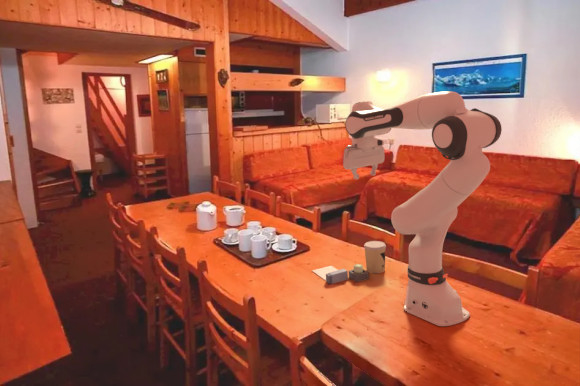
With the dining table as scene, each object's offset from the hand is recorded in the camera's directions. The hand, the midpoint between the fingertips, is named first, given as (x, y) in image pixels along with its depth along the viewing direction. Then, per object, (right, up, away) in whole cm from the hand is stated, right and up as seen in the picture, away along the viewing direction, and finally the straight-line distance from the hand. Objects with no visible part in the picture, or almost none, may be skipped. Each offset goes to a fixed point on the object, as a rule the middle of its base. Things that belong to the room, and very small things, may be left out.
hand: (364, 177), depth 163 cm
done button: (-1, -41, +7) cm, 42 cm away
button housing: (-1, -43, +8) cm, 43 cm away
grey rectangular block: (-10, -44, +7) cm, 45 cm away
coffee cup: (+8, -41, +15) cm, 44 cm away
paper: (-13, -42, +15) cm, 47 cm away
